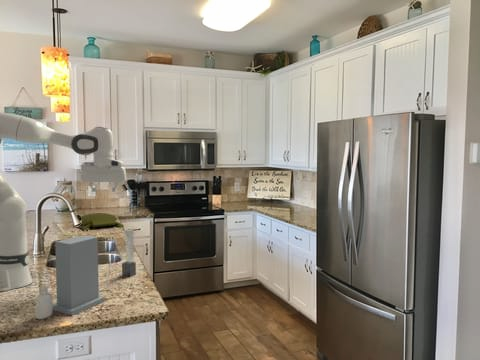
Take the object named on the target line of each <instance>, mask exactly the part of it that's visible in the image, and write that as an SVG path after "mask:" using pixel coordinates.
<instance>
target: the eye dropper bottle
mask: <svg viewBox="0 0 480 360" xmlns="http://www.w3.org/2000/svg"><path fill="white" fill-rule="evenodd" d="M48 291H49V290H48V286H46V284H45V283H42V286H40V287H39V294H38V295H37V296H36V297H35V318H36V319H37V320H43V319H46V318H49V317H51V316H52V315H53V313H54V310H53V305H52V304H53V294H52V293H50V292H48Z"/></svg>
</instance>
